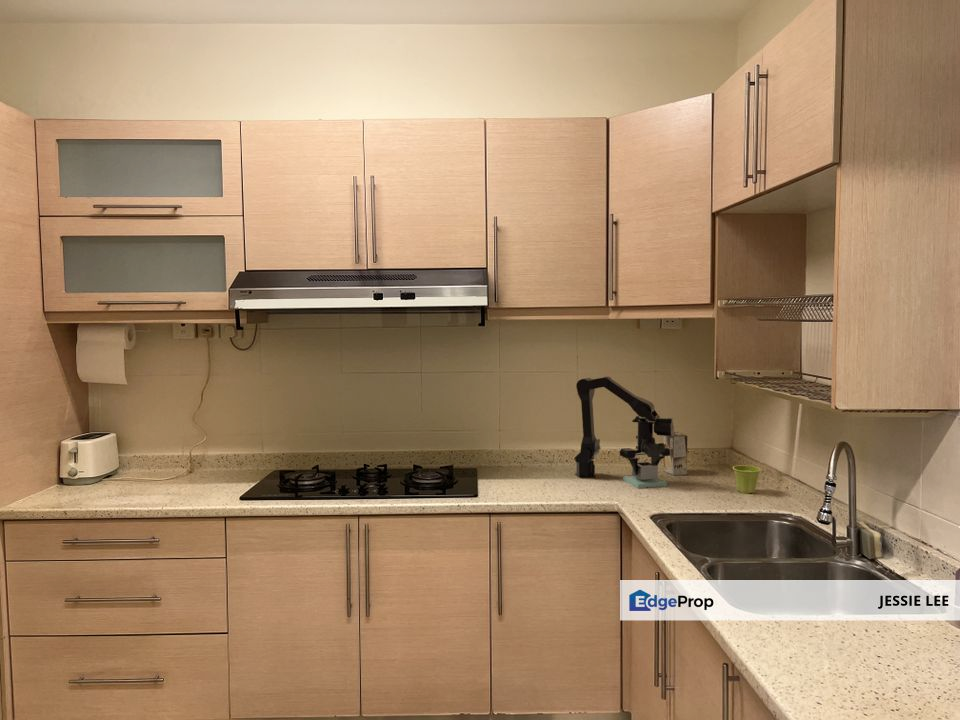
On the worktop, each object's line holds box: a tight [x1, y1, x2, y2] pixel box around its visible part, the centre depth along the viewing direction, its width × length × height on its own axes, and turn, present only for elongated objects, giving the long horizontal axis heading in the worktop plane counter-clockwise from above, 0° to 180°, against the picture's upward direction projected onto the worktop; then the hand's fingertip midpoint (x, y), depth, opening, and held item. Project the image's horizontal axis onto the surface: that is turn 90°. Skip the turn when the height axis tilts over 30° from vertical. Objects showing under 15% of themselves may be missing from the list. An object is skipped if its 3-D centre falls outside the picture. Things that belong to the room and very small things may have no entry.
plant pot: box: [732, 464, 762, 495], centre depth 228 cm, size 9×9×9 cm
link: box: [631, 461, 659, 480], centre depth 240 cm, size 7×7×5 cm
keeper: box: [623, 475, 668, 489], centre depth 241 cm, size 12×12×6 cm
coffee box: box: [663, 431, 688, 476], centre depth 256 cm, size 9×6×16 cm
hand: (644, 474), depth 241 cm, fingers closed on link, 7 cm apart
